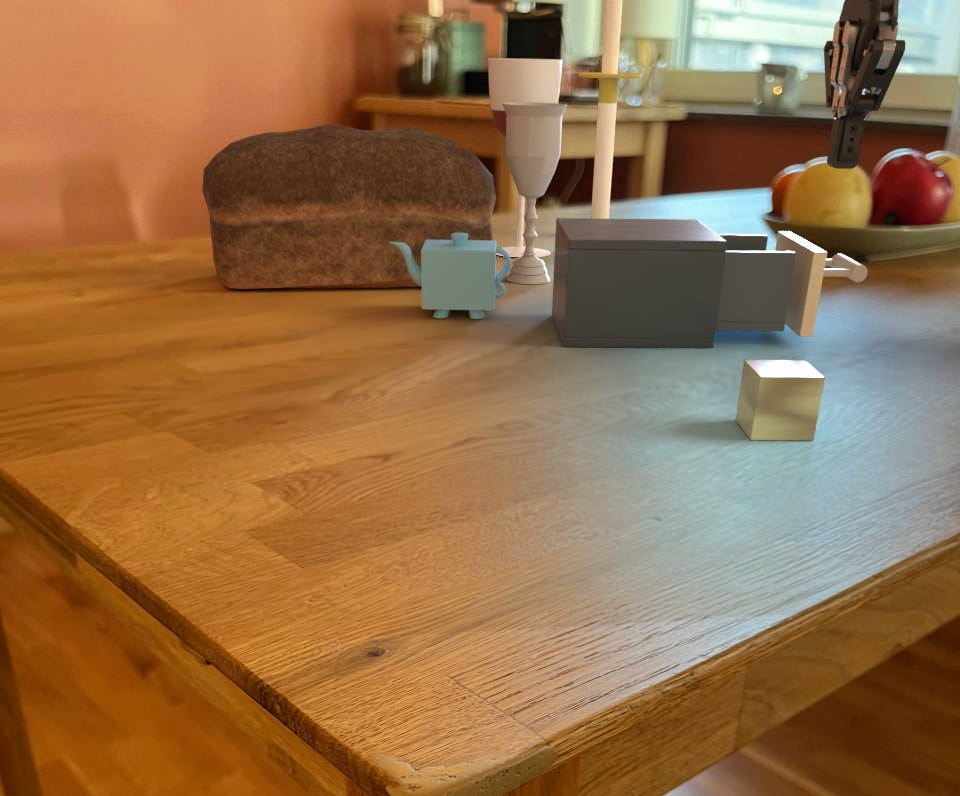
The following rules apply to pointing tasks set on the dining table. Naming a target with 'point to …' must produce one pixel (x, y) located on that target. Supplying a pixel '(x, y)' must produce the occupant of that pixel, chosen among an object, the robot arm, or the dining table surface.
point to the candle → (607, 109)
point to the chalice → (532, 171)
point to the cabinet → (637, 282)
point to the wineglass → (522, 85)
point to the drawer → (776, 283)
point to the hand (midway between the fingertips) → (841, 167)
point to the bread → (339, 205)
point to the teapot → (457, 274)
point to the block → (779, 399)
